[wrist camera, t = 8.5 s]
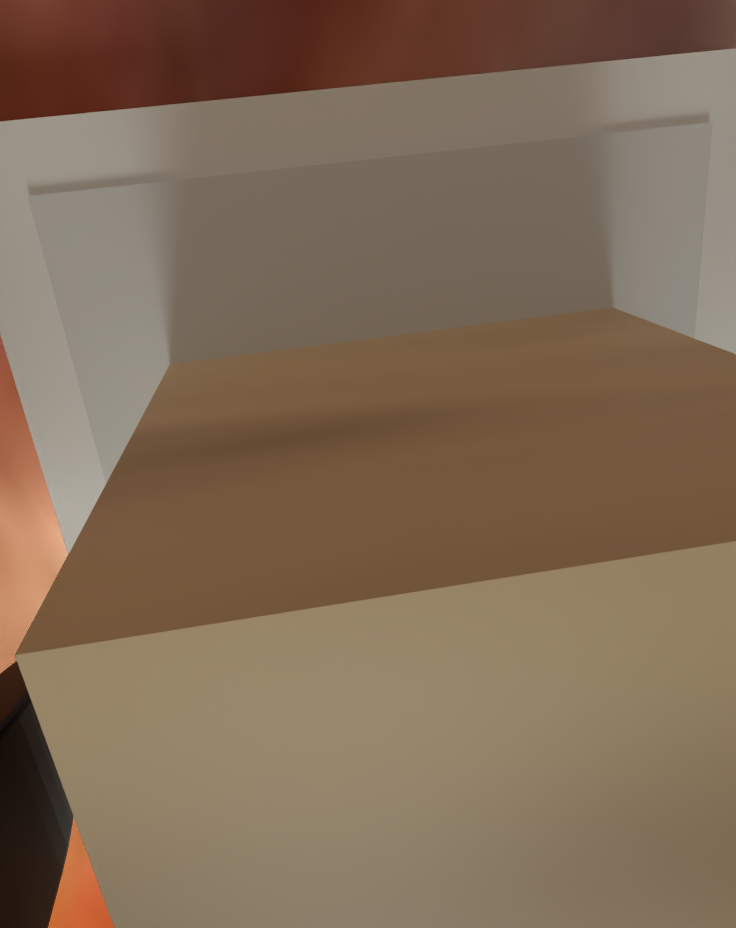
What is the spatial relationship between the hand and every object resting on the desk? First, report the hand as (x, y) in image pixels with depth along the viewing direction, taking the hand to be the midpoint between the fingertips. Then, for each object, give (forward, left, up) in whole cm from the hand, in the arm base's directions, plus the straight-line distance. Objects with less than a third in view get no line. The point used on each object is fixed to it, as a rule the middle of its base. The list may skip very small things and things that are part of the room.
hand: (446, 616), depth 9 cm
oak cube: (0, 0, -2) cm, 2 cm away
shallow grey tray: (0, 0, -3) cm, 3 cm away
